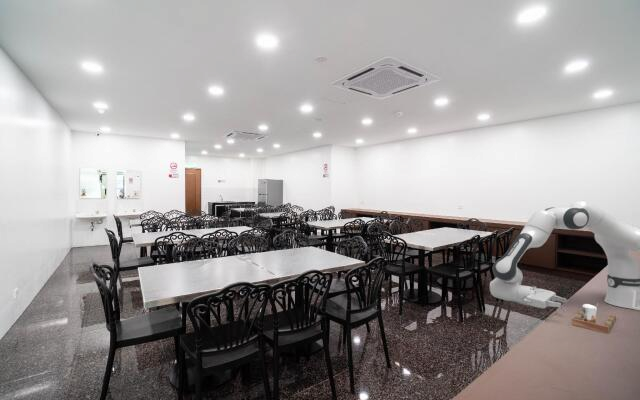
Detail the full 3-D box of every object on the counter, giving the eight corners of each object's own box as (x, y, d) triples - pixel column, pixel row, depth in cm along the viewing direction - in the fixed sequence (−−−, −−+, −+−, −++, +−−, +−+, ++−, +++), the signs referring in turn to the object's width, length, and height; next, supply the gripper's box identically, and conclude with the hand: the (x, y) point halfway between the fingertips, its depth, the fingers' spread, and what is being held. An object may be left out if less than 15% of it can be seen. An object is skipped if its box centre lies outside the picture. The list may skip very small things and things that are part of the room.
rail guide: (582, 311, 144) (582, 306, 144) (615, 318, 135) (615, 313, 135) (571, 324, 128) (571, 319, 128) (608, 333, 120) (608, 327, 120)
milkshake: (602, 329, 124) (602, 304, 124) (587, 328, 125) (586, 304, 125) (594, 324, 128) (594, 301, 128) (579, 323, 129) (579, 300, 129)
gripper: (519, 293, 138) (557, 300, 128) (533, 285, 151) (568, 291, 141) (519, 307, 138) (557, 315, 128) (533, 298, 151) (568, 305, 141)
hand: (563, 303), depth 134 cm, fingers open, 8 cm apart
